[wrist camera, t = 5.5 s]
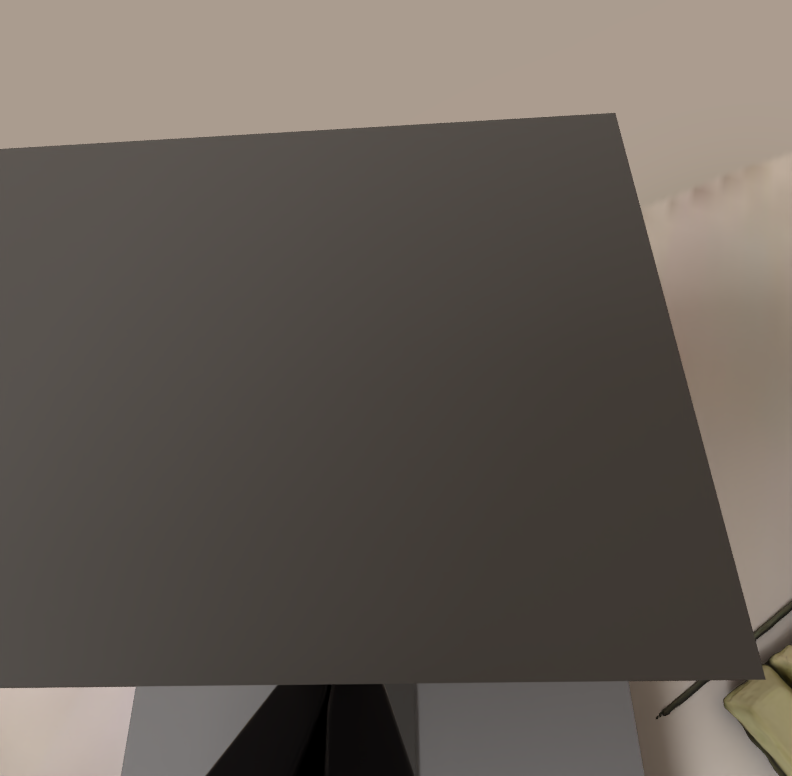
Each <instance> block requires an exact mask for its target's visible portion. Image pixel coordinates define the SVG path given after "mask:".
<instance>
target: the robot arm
mask: <svg viewBox="0 0 792 776" xmlns="http://www.w3.org/2000/svg"><path fill="white" fill-rule="evenodd" d="M205 776H415V774H414V771H413V768H412V765H411V762H410V759H409V756H408V753H407V750H406V747H405V744H404V741H403V738H402V735H401V733H400V730H399V727H398V724H397V721H396V718H395V715H394V712H393V709H392V706H391V703H390V700H389V697H388V694H387V691H386V688H385V685H384V684H323V685H277V686H276V687H275V688H274V689H273V691H272V692H271V693H270V695H269V696H268V697H267V698H266V700H265V701H264V702H263V703H262V705H261V706H260V707H259V708H258V710H257V711H256V712H255V713H254V715H253V716H252V717H251V719H250V720H249V721H248V722H247V724H246V725H245V726H244V727H243V729H242V730H241V731H240V732H239V734H238V735H237V736H236V737H235V739H234V740H233V741H232V743H231V744H230V745H229V746H228V748H227V749H226V750H225V751H224V753H223V754H222V755H221V756H220V758H219V759H218V760H217V762H216V763H215V764H214V765H213V767H212V768H211V769H210V770H209V772H208V773H207V774H206V775H205Z"/></svg>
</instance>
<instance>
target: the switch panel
mask: <svg viewBox="0 0 792 776" xmlns="http://www.w3.org/2000/svg"><path fill="white" fill-rule="evenodd" d="M384 685H385V688H386V691H387V694H388V697H389V700H390V703H391V706H392V709H393V712H394V715H395V718H396V721H397V724H398V727H399V730H400V733H401V735H402V738H403V741H404V744H405V747H406V750H407V753H408V756H409V759H410V762H411V765H412V768H413V771H414V774H415V776H645V775H644V769H643V764H642V758H641V752H640V746H639V740H638V734H637V728H636V723H635V717H634V711H633V705H632V699H631V693H630V687H629V682H628V681H599V682H507V683H415V684H384ZM276 686H277V685H231V686H139V687H136V689H135V695H134V701H133V707H132V713H131V719H130V725H129V731H128V737H127V743H126V749H125V755H124V761H123V767H122V773H121V776H205V775H206V774H207V773H208V772H209V770H210V769H211V768H212V767H213V765H214V764H215V763H216V762H217V760H218V759H219V758H220V756H221V755H222V754H223V753H224V751H225V750H226V749H227V748H228V746H229V745H230V744H231V743H232V741H233V740H234V739H235V737H236V736H237V735H238V734H239V732H240V731H241V730H242V729H243V727H244V726H245V725H246V724H247V722H248V721H249V720H250V719H251V717H252V716H253V715H254V713H255V712H256V711H257V710H258V708H259V707H260V706H261V705H262V703H263V702H264V701H265V700H266V698H267V697H268V696H269V695H270V693H271V692H272V691H273V689H274V688H275V687H276Z"/></svg>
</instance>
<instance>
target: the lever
mask: <svg viewBox="0 0 792 776" xmlns="http://www.w3.org/2000/svg"><path fill="white" fill-rule="evenodd" d="M691 680H766V679H765V675H764V671H763V667H762V664H761V660H760V656H759V652H758V649H757V645H756V641H755V637H754V634H753V630H752V626H751V622H750V618H749V615H748V611H747V607H746V603H745V600H744V596H743V592H742V588H741V585H740V581H739V577H738V573H737V570H736V566H735V562H734V558H733V554H732V551H731V547H730V543H729V539H728V536H727V532H726V528H725V524H724V521H723V517H722V513H721V509H720V506H719V502H718V498H717V494H716V491H715V487H714V483H713V479H712V475H711V472H710V468H709V464H708V460H707V457H706V453H705V449H704V445H703V442H702V438H701V434H700V430H699V427H698V423H697V419H696V415H695V411H694V408H693V404H692V400H691V396H690V393H689V389H688V385H687V381H686V378H685V374H684V370H683V366H682V363H681V359H680V355H679V351H678V348H677V344H676V340H675V336H674V332H673V329H672V325H671V321H670V317H669V314H668V310H667V306H666V302H665V299H664V295H663V291H662V287H661V284H660V280H659V276H658V272H657V269H656V265H655V261H654V257H653V253H652V250H651V246H650V242H649V238H648V235H647V231H646V227H645V223H644V220H643V216H642V212H641V208H640V205H639V201H638V197H637V193H636V189H635V186H634V182H633V178H632V174H631V171H630V167H629V163H628V159H627V156H626V152H625V149H624V144H623V141H622V137H621V133H620V129H619V126H618V122H617V118H616V114H615V113H608V114H590V115H574V116H557V117H541V118H524V119H523V118H522V119H507V120H488V121H473V122H455V123H437V124H420V125H403V126H387V127H369V128H352V129H336V130H318V131H301V132H284V133H268V134H250V135H232V136H216V137H199V138H183V139H182V138H181V139H164V140H147V141H130V142H114V143H97V144H79V145H62V146H45V147H29V148H11V149H0V688H47V687H139V686H231V685H323V684H415V683H507V682H599V681H691Z"/></svg>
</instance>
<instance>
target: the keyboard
mask: <svg viewBox="0 0 792 776" xmlns="http://www.w3.org/2000/svg"><path fill="white" fill-rule="evenodd" d="M791 610H792V601H791V602H790V603H789V604H788V605H787V606H785V607H784V608H783V609H782V610H781V611H779V612H778V613H777V614H776V615H775V616H773V617H772V618H771V619H770V620H768V621H767V622H766V623H765V624H764V625H762V626H761V627H760V628H759V629H758V630H757V631H756V632H754V633H753V634H754V637H755V641H756V640H757V639H758V638H759V637H760V636H762V635H763V634H764V633H765V632H767V631H768V630H769V629H771V628H772V627H773V626H774V625H775V624H776V623H777V622H778V621H779V620H780V619H782V618H783V617H784V616H785V615H787V614H788V613H789V612H790V611H791ZM762 667H763V671H764V675H765V679H766V680H747V681H746V683H744V684H742V685H740V686H738V687H737V688H736V689H734V690H733V691H732V692H731V693H729V694H728V695H727V696H726V697H725V698H724V700H723V701H724V707H725V708H726V709H727V710H728V711H729V712H730V713H731V714H732V715H733V716H734V717H735V718H737V719H738V721H739V722H740V723H741V725H742V726H743V728H744V729H745V731H746V733H747V735H748V737H749V738H750V740H751V741H752V742H753V743H754V744H755V745H756V746H757V747H758V748H759V749H760V750H761V751H762V752H763V753H764V754H765V755H766V756H767V758H768V760H769V762H770V763H771V765H772V766H773V768H774V770H775V771H776V772H777V773H778V775H779V776H792V645H787V646H786V648H784V649H783V650H782V651H781V652H779V653H777V654H774V655H773V656H771V658H770V659H769V661H768V662H767V663H766V664H763V665H762ZM708 681H709V680H698V681H697V682H696V683H695V684H694V685H692V686H691V687H690V688H689V689H688V690H687V691H685V692H684V693H683V694H682V695H680V696H679V697H678V698H677V699H675V700H674V701H673V702H672V703H671V704H670V705H669V706H667V707H666V708H665V709H663V710H662V712H661V713H659V716H660V717H661V715H662V714H663V715H664V716H666V715H668V714H670V712H671V711H672V710H673V709H675V708H676V707H677V706H679V705H680V704H682V703H683V702H684V701H686V700H687V699H688V698H689V697H690V696H692V695H693V694H694V693H695V692H696V691H697V690H699V689H700V688H701V687H702V686H703V685H704V684H705V683H707V682H708ZM659 716H657V717H656V719H658V717H659Z"/></svg>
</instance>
